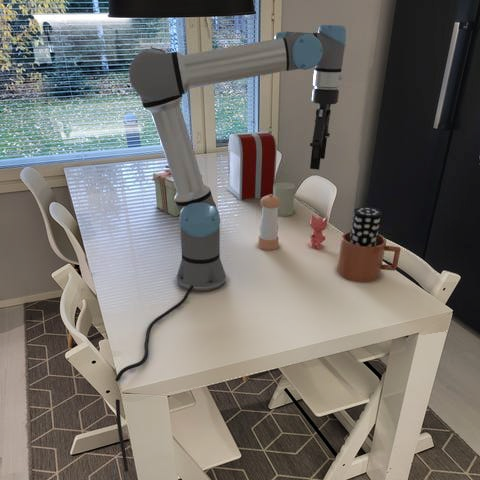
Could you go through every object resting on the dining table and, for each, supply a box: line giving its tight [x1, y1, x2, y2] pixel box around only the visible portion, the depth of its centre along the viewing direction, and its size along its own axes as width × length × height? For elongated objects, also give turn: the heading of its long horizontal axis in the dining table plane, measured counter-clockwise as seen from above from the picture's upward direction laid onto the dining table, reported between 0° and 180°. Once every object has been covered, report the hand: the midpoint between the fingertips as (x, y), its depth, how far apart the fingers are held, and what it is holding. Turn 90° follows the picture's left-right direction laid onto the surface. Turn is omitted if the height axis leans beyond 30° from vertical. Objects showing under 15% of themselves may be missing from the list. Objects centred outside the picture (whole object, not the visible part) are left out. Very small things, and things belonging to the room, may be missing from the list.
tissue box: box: [227, 131, 278, 201], centre depth 222 cm, size 17×18×27 cm
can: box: [273, 181, 296, 217], centre depth 204 cm, size 9×9×12 cm
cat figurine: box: [309, 213, 329, 250], centre depth 174 cm, size 7×7×12 cm
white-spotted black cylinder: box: [350, 206, 383, 247], centre depth 154 cm, size 8×8×20 cm
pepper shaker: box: [257, 194, 281, 251], centre depth 172 cm, size 7×7×19 cm
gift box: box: [152, 165, 203, 217], centre depth 203 cm, size 17×18×17 cm
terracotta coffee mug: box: [336, 230, 402, 283], centre depth 156 cm, size 19×14×12 cm
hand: (317, 163), depth 150 cm, fingers open, 13 cm apart
